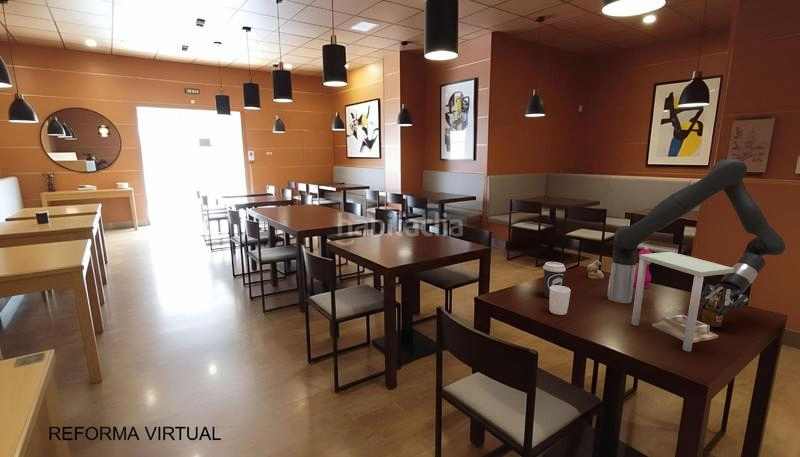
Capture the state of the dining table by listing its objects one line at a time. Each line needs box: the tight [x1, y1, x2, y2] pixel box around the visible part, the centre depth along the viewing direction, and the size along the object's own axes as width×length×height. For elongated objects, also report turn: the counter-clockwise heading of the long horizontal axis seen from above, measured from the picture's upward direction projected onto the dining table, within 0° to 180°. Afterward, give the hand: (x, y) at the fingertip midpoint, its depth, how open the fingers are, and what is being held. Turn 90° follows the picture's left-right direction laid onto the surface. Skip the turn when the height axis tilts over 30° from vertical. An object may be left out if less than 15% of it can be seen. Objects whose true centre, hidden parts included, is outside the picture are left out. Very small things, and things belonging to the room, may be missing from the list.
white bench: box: [631, 251, 734, 353], centre depth 136 cm, size 15×22×28 cm
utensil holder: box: [701, 292, 724, 328], centre depth 143 cm, size 6×6×12 cm
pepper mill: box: [633, 246, 653, 289], centre depth 186 cm, size 7×7×20 cm
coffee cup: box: [542, 261, 567, 298], centre depth 174 cm, size 10×10×15 cm
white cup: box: [548, 285, 572, 316], centre depth 157 cm, size 8×8×10 cm
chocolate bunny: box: [586, 259, 605, 280], centre depth 200 cm, size 6×8×10 cm
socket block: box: [651, 314, 719, 343], centre depth 140 cm, size 14×14×4 cm
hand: (710, 311), depth 143 cm, fingers closed on utensil holder, 5 cm apart
